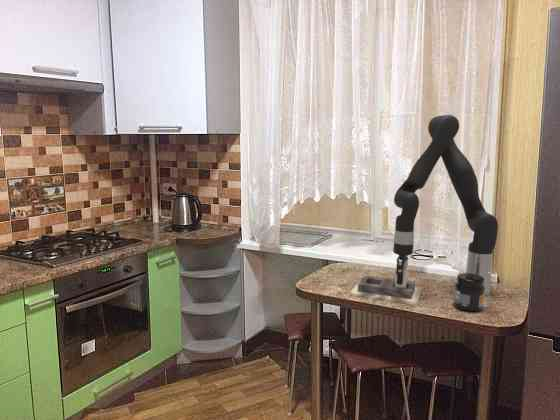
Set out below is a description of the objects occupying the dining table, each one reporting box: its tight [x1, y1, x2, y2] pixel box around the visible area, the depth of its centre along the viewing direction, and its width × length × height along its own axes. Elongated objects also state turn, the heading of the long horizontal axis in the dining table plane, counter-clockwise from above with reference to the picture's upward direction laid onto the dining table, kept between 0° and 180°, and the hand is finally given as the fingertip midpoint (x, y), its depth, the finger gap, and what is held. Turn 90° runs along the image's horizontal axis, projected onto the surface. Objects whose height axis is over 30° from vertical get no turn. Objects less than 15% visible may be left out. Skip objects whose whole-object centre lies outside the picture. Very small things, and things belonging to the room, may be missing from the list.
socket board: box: [349, 275, 423, 306], centre depth 195 cm, size 26×18×4 cm
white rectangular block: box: [394, 269, 408, 288], centre depth 192 cm, size 4×4×9 cm
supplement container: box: [453, 272, 485, 312], centre depth 180 cm, size 10×10×12 cm
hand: (401, 280), depth 192 cm, fingers open, 8 cm apart
